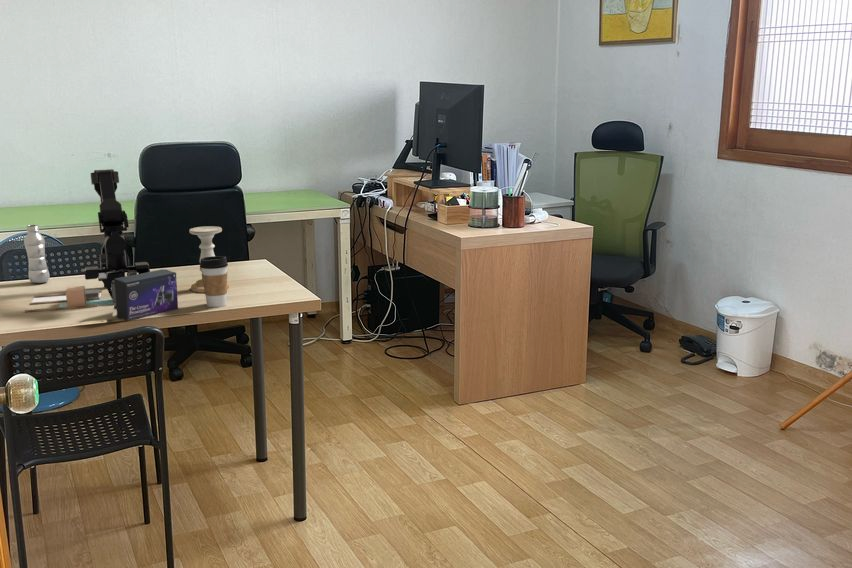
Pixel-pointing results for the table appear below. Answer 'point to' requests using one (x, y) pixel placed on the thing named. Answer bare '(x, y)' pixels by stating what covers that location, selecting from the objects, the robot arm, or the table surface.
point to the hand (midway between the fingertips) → (120, 297)
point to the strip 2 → (100, 302)
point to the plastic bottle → (36, 255)
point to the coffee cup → (215, 280)
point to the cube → (76, 296)
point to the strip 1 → (89, 294)
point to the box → (146, 294)
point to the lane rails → (59, 302)
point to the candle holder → (205, 249)
